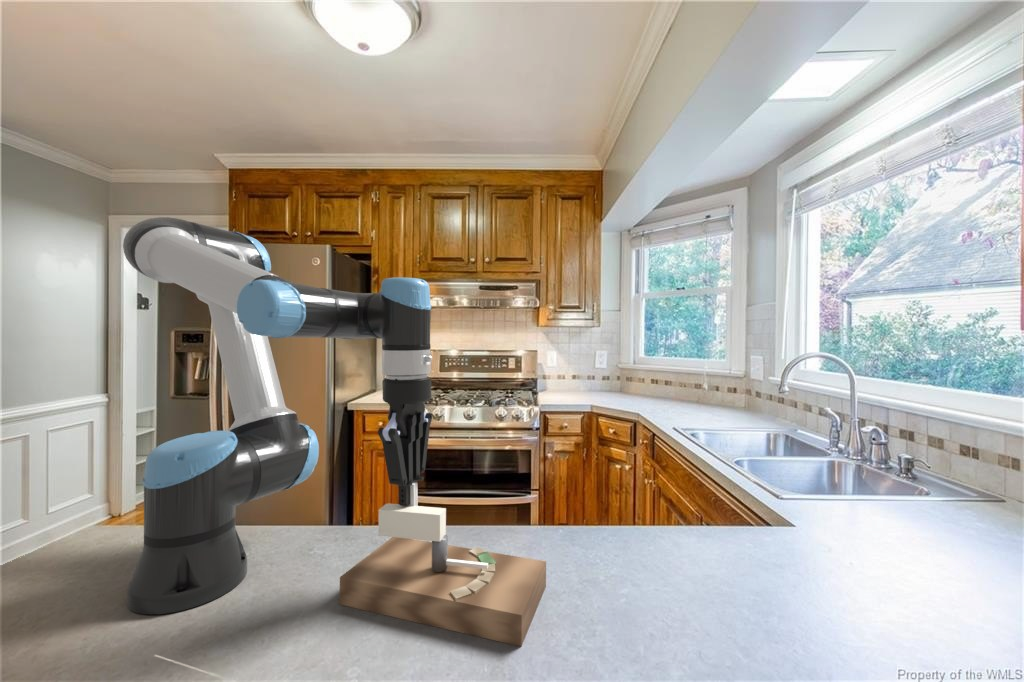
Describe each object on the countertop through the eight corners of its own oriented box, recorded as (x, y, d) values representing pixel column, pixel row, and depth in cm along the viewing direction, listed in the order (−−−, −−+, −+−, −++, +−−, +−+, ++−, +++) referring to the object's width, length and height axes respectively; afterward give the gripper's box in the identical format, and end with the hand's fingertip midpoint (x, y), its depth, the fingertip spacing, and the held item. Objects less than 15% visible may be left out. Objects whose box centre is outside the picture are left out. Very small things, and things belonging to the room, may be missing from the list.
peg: (378, 565, 65) (378, 509, 65) (386, 557, 68) (386, 503, 68) (485, 577, 62) (485, 519, 62) (489, 568, 64) (490, 512, 64)
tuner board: (339, 604, 62) (339, 575, 62) (394, 557, 76) (395, 533, 76) (521, 646, 54) (521, 612, 54) (546, 584, 68) (546, 558, 68)
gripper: (407, 382, 60) (408, 545, 61) (445, 372, 72) (446, 508, 73) (361, 380, 62) (364, 538, 63) (406, 371, 74) (408, 503, 75)
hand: (408, 522), depth 68 cm, fingers closed
